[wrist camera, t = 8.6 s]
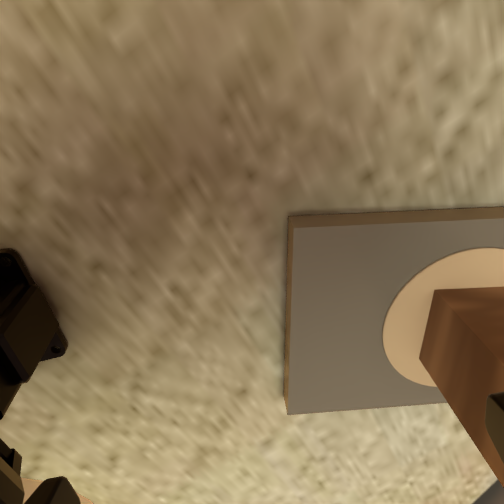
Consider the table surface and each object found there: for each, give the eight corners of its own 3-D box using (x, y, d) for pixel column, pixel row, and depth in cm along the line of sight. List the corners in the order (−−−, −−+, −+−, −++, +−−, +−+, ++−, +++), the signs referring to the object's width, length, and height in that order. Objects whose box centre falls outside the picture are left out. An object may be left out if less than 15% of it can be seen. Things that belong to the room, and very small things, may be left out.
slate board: (283, 395, 26) (288, 417, 24) (288, 216, 21) (294, 229, 19) (498, 380, 27) (515, 399, 25) (555, 204, 22) (581, 216, 20)
